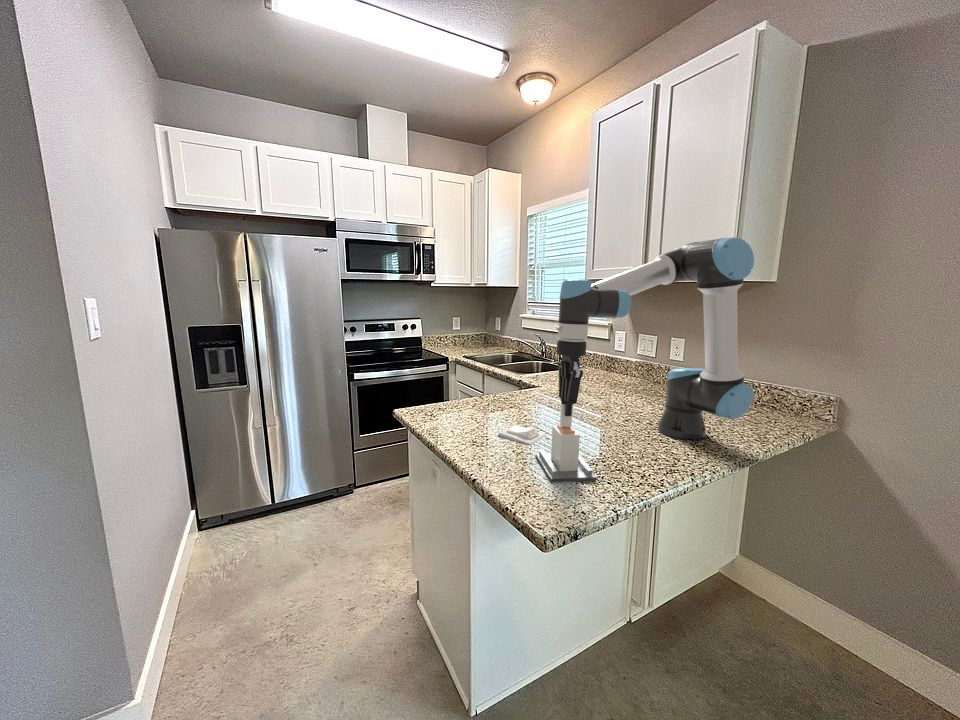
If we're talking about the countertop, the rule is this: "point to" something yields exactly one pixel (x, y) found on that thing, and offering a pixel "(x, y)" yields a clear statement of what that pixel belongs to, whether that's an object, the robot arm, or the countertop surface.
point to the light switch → (522, 434)
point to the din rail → (564, 476)
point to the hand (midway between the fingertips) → (565, 426)
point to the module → (565, 448)
